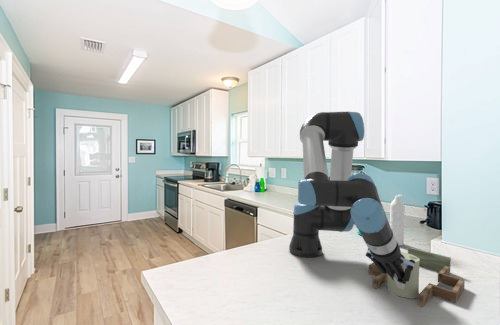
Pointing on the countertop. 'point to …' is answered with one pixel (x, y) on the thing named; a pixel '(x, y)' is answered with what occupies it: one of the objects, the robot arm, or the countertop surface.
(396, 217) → the white bottle
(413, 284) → the can
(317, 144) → the robot arm
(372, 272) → the channel
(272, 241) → the countertop surface
